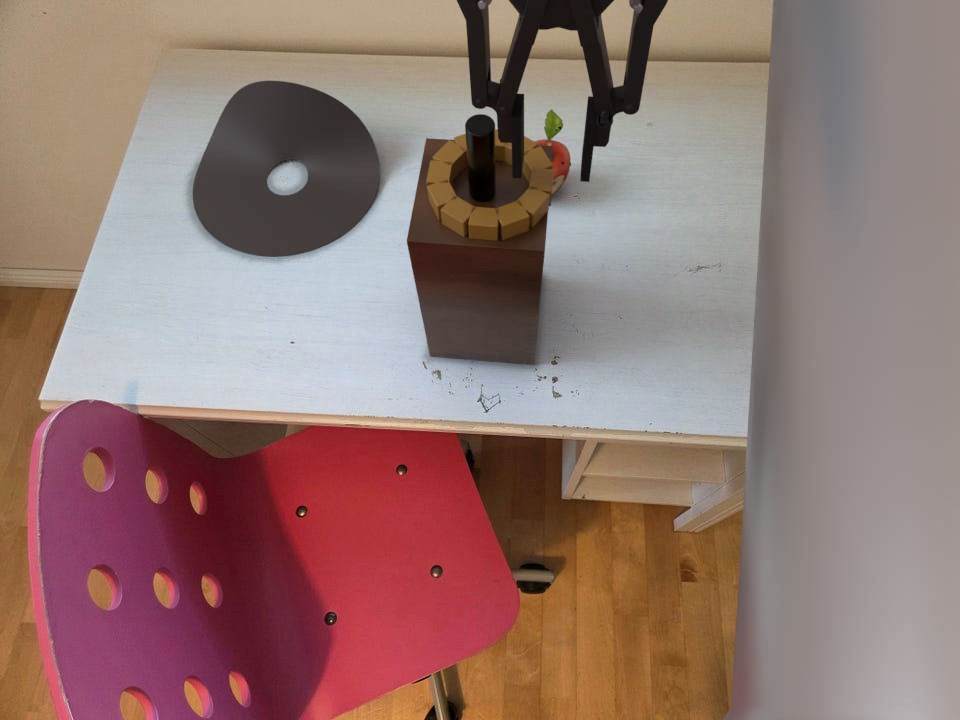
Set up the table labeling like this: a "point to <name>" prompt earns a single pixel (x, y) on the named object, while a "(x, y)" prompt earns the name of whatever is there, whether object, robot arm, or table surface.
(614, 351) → the table surface
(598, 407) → the table surface
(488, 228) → the ring
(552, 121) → the apple
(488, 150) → the post
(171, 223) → the table surface
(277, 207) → the dark holed disc
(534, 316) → the stand
